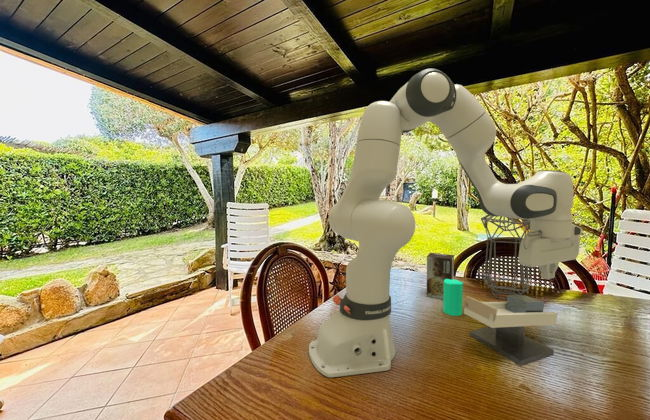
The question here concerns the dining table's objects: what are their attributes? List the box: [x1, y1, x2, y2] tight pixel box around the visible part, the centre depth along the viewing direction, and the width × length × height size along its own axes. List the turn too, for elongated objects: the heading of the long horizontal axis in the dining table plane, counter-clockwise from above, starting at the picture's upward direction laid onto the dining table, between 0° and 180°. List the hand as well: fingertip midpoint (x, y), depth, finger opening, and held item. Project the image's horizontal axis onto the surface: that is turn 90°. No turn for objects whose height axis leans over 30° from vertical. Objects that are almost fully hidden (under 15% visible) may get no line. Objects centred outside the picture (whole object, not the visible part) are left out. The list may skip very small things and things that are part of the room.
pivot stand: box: [469, 325, 555, 367], centre depth 71 cm, size 12×14×6 cm
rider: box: [506, 294, 545, 313], centre depth 72 cm, size 7×5×4 cm
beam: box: [463, 296, 559, 328], centre depth 70 cm, size 24×8×4 cm, turn 110°
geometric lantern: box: [480, 214, 530, 300], centre depth 102 cm, size 16×16×35 cm
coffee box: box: [426, 252, 455, 300], centre depth 103 cm, size 9×6×16 cm
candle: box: [442, 276, 464, 317], centre depth 90 cm, size 6×6×12 cm
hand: (547, 278), depth 75 cm, fingers closed
